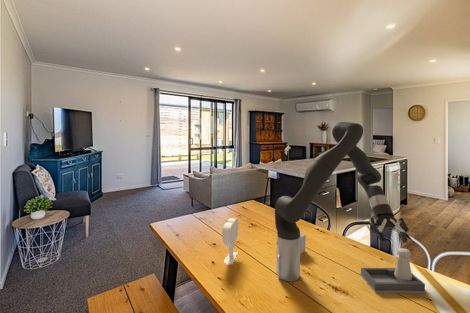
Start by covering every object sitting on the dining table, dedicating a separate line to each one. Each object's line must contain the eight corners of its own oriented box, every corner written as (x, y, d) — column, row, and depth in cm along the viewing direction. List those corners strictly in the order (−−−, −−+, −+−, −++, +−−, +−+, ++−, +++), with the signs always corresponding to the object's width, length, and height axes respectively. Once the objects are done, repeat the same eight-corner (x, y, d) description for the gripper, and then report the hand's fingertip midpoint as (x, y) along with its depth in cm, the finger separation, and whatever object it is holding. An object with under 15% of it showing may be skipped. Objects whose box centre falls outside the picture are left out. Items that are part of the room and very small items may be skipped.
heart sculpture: (230, 249, 127) (230, 215, 126) (240, 250, 126) (239, 216, 124) (221, 264, 112) (220, 226, 111) (231, 266, 111) (231, 227, 109)
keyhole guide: (375, 292, 91) (375, 284, 90) (360, 274, 103) (360, 267, 102) (425, 293, 90) (426, 285, 89) (404, 275, 102) (404, 267, 101)
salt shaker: (395, 275, 100) (396, 244, 99) (412, 280, 96) (413, 248, 95) (393, 282, 96) (394, 250, 95) (411, 287, 92) (412, 254, 91)
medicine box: (297, 248, 127) (298, 232, 126) (305, 251, 124) (305, 234, 123) (289, 254, 121) (289, 237, 121) (297, 257, 118) (297, 239, 117)
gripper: (367, 203, 109) (380, 238, 99) (400, 203, 108) (417, 239, 98) (361, 211, 115) (373, 245, 104) (393, 211, 114) (407, 245, 104)
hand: (394, 242), depth 101 cm, fingers open, 8 cm apart
